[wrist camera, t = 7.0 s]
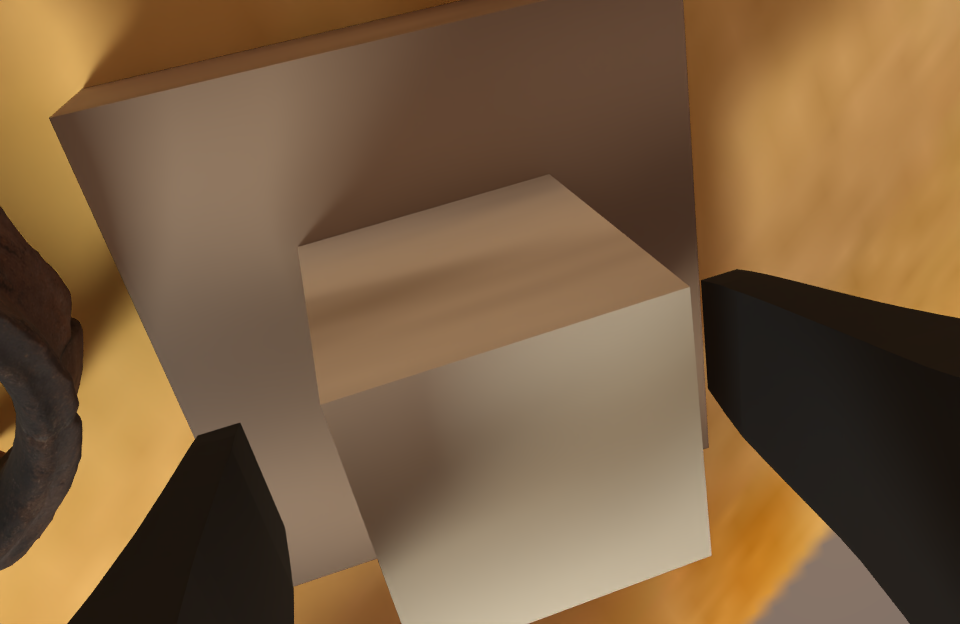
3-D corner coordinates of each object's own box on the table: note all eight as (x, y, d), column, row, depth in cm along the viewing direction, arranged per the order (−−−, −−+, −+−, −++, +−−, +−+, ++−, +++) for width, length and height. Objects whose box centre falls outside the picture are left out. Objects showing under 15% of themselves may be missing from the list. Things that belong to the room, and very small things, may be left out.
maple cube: (584, 383, 16) (712, 555, 11) (369, 454, 15) (417, 664, 11) (549, 174, 14) (690, 286, 9) (298, 246, 13) (320, 405, 9)
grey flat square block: (649, 380, 20) (708, 447, 17) (265, 502, 18) (266, 595, 16) (607, -38, 15) (681, -33, 13) (88, 83, 14) (48, 118, 11)
